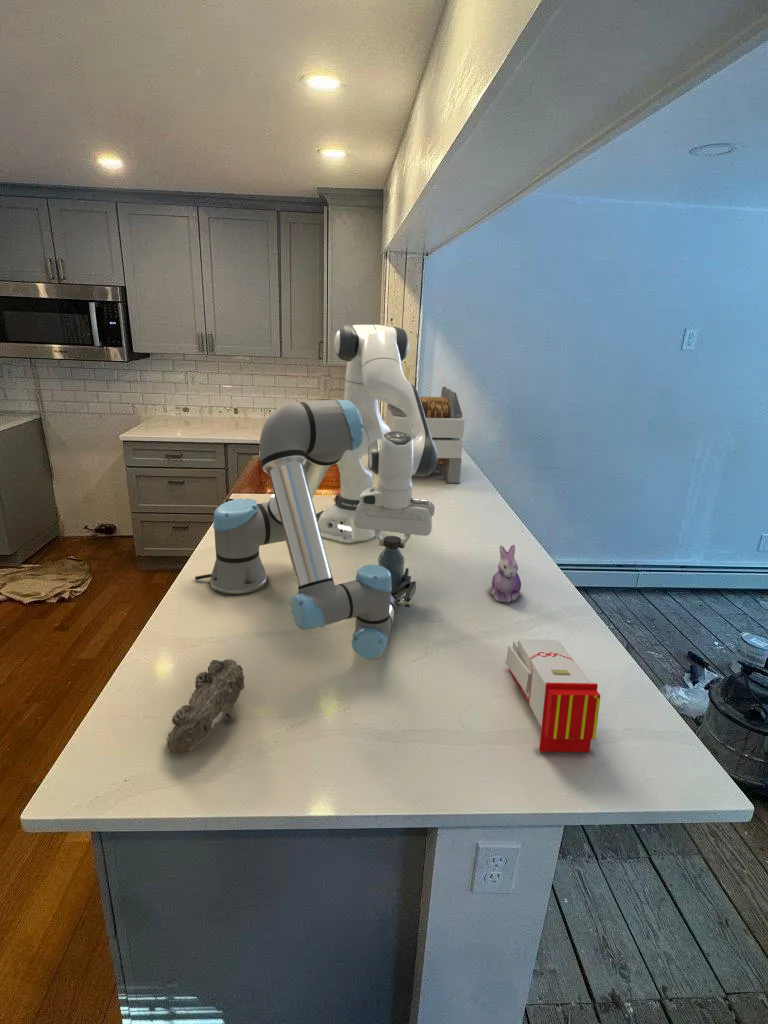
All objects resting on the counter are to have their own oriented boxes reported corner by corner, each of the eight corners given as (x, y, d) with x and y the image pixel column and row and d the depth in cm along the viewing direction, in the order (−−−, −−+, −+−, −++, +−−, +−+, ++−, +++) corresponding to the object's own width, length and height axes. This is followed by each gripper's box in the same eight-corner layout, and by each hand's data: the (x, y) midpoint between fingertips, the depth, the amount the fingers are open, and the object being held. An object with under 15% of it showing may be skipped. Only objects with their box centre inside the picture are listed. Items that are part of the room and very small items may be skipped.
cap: (401, 549, 147) (401, 542, 146) (383, 548, 147) (383, 541, 146) (400, 542, 151) (401, 536, 151) (383, 541, 151) (383, 535, 151)
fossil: (192, 660, 117) (244, 628, 112) (224, 691, 120) (276, 661, 115) (142, 746, 98) (202, 712, 93) (182, 779, 101) (242, 748, 96)
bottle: (402, 606, 151) (406, 546, 145) (375, 605, 151) (378, 544, 145) (402, 594, 158) (405, 536, 152) (376, 592, 158) (379, 534, 152)
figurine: (503, 606, 153) (510, 556, 148) (480, 590, 162) (486, 542, 156) (530, 600, 157) (537, 550, 152) (507, 584, 166) (513, 537, 161)
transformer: (382, 463, 289) (386, 382, 275) (445, 464, 293) (451, 384, 279) (390, 482, 257) (394, 392, 243) (460, 483, 261) (468, 394, 247)
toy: (554, 622, 128) (610, 691, 98) (548, 677, 130) (601, 759, 101) (501, 621, 127) (541, 690, 98) (496, 676, 130) (534, 758, 101)
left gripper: (338, 620, 138) (357, 579, 160) (419, 630, 136) (428, 587, 157) (338, 593, 136) (357, 555, 157) (422, 602, 133) (430, 562, 154)
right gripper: (436, 496, 146) (432, 546, 151) (358, 489, 149) (357, 537, 154) (433, 504, 140) (429, 555, 145) (353, 496, 143) (352, 546, 148)
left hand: (392, 571), depth 157 cm, fingers closed on bottle, 7 cm apart
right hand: (391, 546), depth 149 cm, fingers closed on cap, 4 cm apart
